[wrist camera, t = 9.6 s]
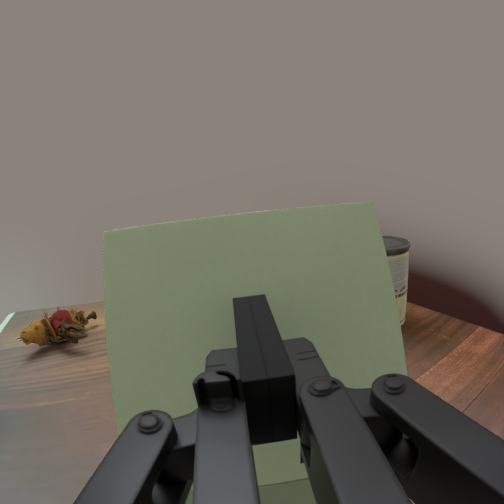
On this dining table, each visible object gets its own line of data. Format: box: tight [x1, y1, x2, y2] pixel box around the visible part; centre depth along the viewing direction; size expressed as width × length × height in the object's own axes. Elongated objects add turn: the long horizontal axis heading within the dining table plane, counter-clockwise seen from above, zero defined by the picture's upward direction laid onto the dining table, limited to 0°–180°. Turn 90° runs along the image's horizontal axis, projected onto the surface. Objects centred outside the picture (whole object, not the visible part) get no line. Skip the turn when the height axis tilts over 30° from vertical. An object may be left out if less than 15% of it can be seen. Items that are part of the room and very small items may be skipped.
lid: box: [103, 202, 407, 490], centre depth 15 cm, size 15×16×1 cm
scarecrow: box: [18, 308, 97, 348], centre depth 51 cm, size 17×16×8 cm
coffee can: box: [382, 236, 410, 326], centre depth 50 cm, size 10×10×14 cm
